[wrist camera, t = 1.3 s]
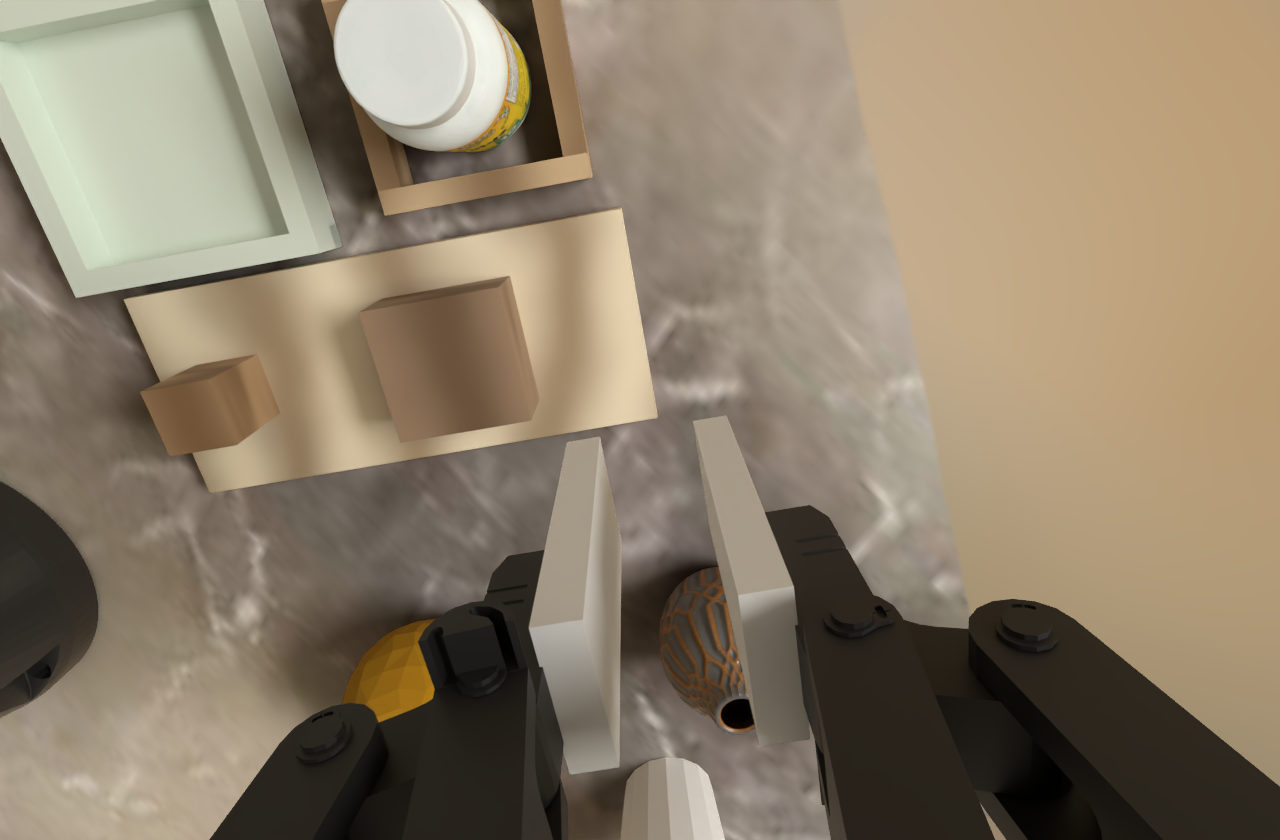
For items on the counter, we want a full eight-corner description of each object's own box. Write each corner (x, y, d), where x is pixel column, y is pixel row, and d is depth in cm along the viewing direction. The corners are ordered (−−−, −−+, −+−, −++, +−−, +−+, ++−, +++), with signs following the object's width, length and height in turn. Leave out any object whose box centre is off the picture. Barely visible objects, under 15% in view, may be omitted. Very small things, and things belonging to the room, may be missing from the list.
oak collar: (399, 212, 31) (384, 215, 29) (334, -14, 28) (313, -27, 26) (593, 176, 31) (591, 177, 29) (550, -58, 27) (544, -74, 26)
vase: (776, 644, 40) (815, 768, 32) (659, 652, 40) (668, 778, 32) (777, 542, 38) (819, 648, 30) (652, 551, 38) (659, 659, 30)
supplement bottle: (524, 10, 28) (478, -60, 19) (540, 148, 30) (504, 144, 21) (395, 19, 28) (289, -46, 19) (418, 157, 30) (332, 156, 21)
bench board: (222, 482, 36) (159, 533, 31) (140, 294, 32) (54, 318, 27) (656, 409, 35) (661, 450, 30) (621, 207, 31) (620, 215, 26)
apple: (523, 564, 38) (494, 679, 29) (550, 691, 41) (531, 827, 33) (363, 583, 38) (289, 702, 30) (402, 707, 41) (345, 847, 33)
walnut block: (419, 419, 33) (400, 442, 31) (381, 298, 31) (357, 312, 28) (539, 398, 33) (531, 420, 30) (509, 275, 31) (498, 287, 28)
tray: (115, 287, 32) (75, 297, 30) (-3, 23, 28) (-60, 11, 26) (342, 246, 32) (320, 253, 29) (254, -29, 28) (220, -46, 25)
